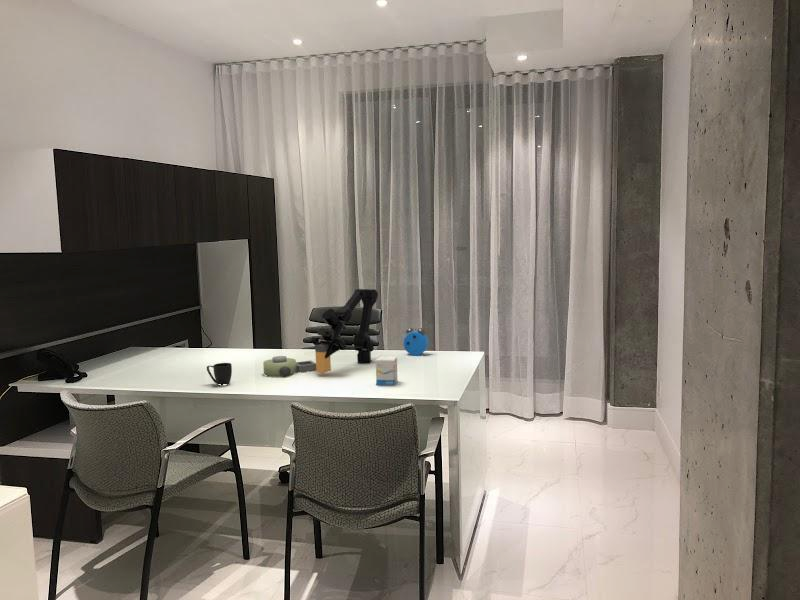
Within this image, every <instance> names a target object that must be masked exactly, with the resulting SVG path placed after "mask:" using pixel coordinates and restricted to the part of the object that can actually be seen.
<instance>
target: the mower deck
mask: <svg viewBox="0 0 800 600" xmlns="http://www.w3.org/2000/svg"><path fill="white" fill-rule="evenodd" d="M262 363H263V375H264V374H265V375H268V376H267V377H269V376H282V377H283V378H287V377H286V376H288V377H289V376H292V374H293V375H295V374H297V373H298V372H299V374H301V373H300V372H302V373H308V372H307V371H309V372H316V371H315V370H316V361H315V362H314V361H313V360H305V361H304V360H303V361H297V360H296V359H295V358H291V357H287V356H285V355H278V356H273V357H272V358H271V359H267V360H264V361H263V362H262ZM294 373H295V374H294ZM265 375H264V376H265Z"/></svg>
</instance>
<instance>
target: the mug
mask: <svg viewBox="0 0 800 600" xmlns="http://www.w3.org/2000/svg"><path fill="white" fill-rule="evenodd" d="M210 368H213V374H212V373H211V370H210ZM206 372H207V373H208V375H209V377H210V378H211V380H212V381H213V382H214V383H215V384H216V383H217V384H221V385H223V384H229V383H230V384H231V379H232V373H233V367H232V363H230V362H220V363H215V364H213V365H207V366H206ZM230 384H229V385H230Z"/></svg>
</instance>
